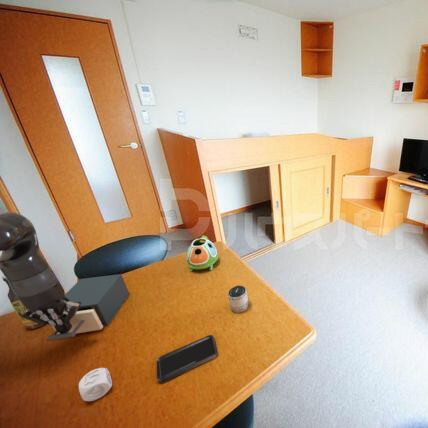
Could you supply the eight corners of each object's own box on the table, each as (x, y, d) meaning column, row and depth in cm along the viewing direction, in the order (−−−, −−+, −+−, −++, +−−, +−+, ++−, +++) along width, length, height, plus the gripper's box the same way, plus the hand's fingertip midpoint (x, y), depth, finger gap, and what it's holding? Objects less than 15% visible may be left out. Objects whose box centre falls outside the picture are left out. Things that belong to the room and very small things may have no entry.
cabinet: (108, 325, 78) (97, 304, 74) (62, 332, 76) (48, 310, 72) (129, 293, 91) (121, 274, 87) (91, 299, 89) (80, 278, 85)
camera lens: (250, 300, 89) (248, 283, 86) (246, 313, 84) (243, 296, 80) (233, 300, 89) (230, 284, 86) (228, 313, 83) (224, 296, 80)
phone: (156, 357, 68) (212, 333, 75) (157, 360, 68) (213, 336, 75) (156, 383, 62) (217, 354, 69) (158, 385, 62) (218, 356, 69)
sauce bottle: (25, 333, 75) (-11, 285, 67) (28, 321, 79) (-5, 273, 71) (54, 322, 79) (24, 275, 71) (56, 311, 83) (27, 265, 75)
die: (111, 375, 64) (104, 363, 62) (113, 390, 61) (105, 378, 59) (86, 388, 61) (78, 377, 59) (87, 405, 58) (78, 393, 56)
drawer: (89, 345, 71) (79, 327, 68) (43, 353, 69) (29, 335, 65) (122, 298, 88) (115, 282, 84) (86, 303, 85) (77, 286, 82)
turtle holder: (221, 249, 120) (217, 228, 115) (216, 271, 104) (211, 248, 99) (194, 252, 117) (189, 231, 112) (185, 275, 101) (179, 252, 96)
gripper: (-9, 300, 58) (28, 347, 65) (56, 291, 61) (84, 338, 68) (18, 279, 64) (49, 324, 72) (76, 273, 67) (100, 317, 75)
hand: (66, 331), depth 70 cm, fingers closed
